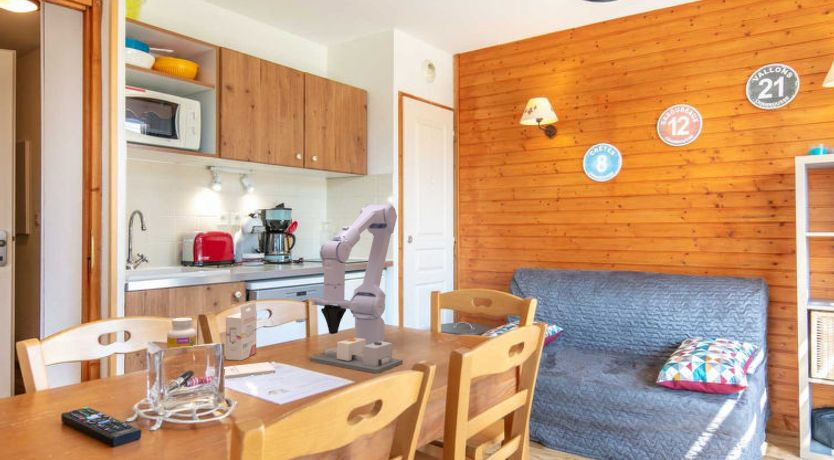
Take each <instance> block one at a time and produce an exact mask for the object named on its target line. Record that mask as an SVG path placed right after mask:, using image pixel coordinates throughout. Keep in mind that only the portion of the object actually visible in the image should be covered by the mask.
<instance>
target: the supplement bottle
mask: <svg viewBox="0 0 834 460" xmlns="http://www.w3.org/2000/svg"><path fill="white" fill-rule="evenodd" d="M171 325H172V328H171V329H169V330H168V331H167V333H166V334H167V336H166V348H167V347H168V348H169V347H180V346H193V345H196V346H197V331H196V329H195V328H193V327H192V325H193V318H191V317H176V318H172V319H171Z"/></svg>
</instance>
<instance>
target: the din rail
mask: <svg viewBox="0 0 834 460" xmlns="http://www.w3.org/2000/svg"><path fill="white" fill-rule="evenodd" d="M324 353H325V355H327V356H332V357H337V347H329V348H326V349H324ZM352 360H355V361H360V362H363V352H361V353H358V354H354V355H352ZM387 363H389V357H385V358H382V359H379V361H378V365H384V364H387Z"/></svg>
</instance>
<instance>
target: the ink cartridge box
mask: <svg viewBox="0 0 834 460" xmlns="http://www.w3.org/2000/svg"><path fill="white" fill-rule="evenodd" d="M247 309H249V310H247ZM257 320H258V319H257V305H256V302H252V303H248V304H244V305H241V306H240V312H238V313H235V314H231V315H228V316H225V361H226V360H230V361H243V360H245V359H248V358H250V357H252V356H254V355H256V354H257V322H258V321H257Z"/></svg>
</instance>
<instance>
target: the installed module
mask: <svg viewBox="0 0 834 460" xmlns="http://www.w3.org/2000/svg"><path fill="white" fill-rule="evenodd" d="M385 357H389V362H390V361H392V358H393V342H387V341H385V342H382V341H379V342H374V343H372V344H369V345H366V346H363V364H364V365H369V366H375V367H376V366H378V361H379V359H382V358H385Z"/></svg>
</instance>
